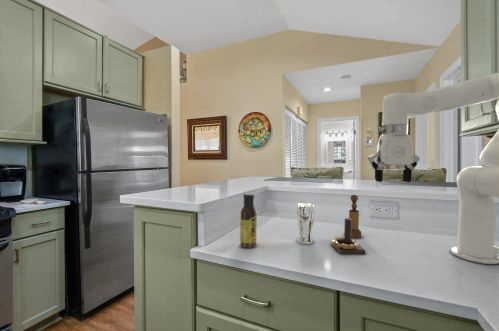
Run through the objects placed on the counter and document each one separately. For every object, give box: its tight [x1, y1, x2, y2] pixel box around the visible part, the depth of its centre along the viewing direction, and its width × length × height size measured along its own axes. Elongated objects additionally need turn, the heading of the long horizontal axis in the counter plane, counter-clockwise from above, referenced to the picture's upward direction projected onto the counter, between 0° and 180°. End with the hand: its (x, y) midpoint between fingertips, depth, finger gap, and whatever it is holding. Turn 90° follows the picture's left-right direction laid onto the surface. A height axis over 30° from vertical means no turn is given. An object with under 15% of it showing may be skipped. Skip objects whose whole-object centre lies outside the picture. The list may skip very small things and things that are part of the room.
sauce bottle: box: [239, 193, 258, 249], centre depth 94 cm, size 6×6×20 cm
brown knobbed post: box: [348, 194, 362, 239], centre depth 107 cm, size 7×6×18 cm
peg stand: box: [330, 217, 366, 255], centre depth 92 cm, size 9×9×12 cm
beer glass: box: [296, 203, 315, 245], centre depth 99 cm, size 7×7×15 cm
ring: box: [331, 236, 360, 249], centre depth 92 cm, size 9×9×2 cm
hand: (392, 181), depth 84 cm, fingers open, 9 cm apart
